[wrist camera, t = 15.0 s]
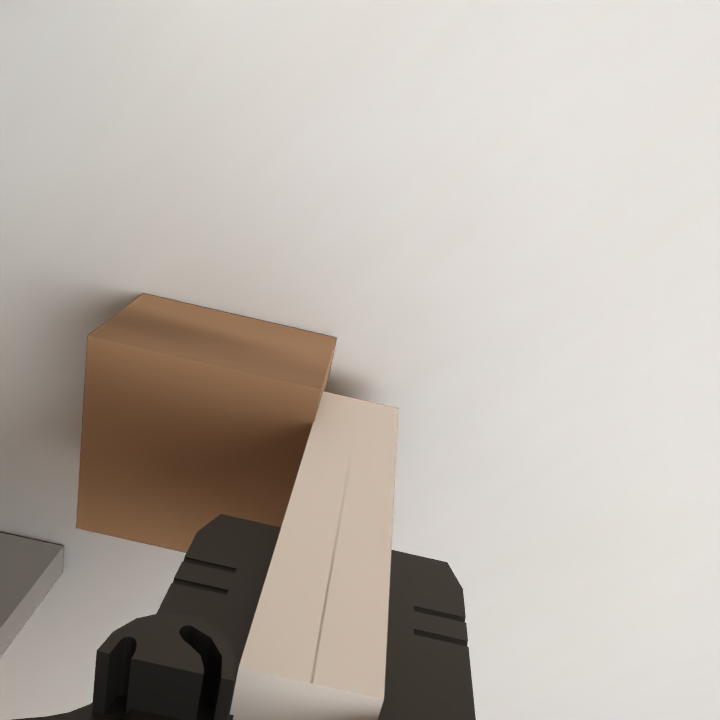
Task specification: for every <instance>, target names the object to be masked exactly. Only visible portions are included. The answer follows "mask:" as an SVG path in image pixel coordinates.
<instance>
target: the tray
mask: <svg viewBox="0 0 720 720" xmlns="http://www.w3.org/2000/svg"><path fill="white" fill-rule="evenodd" d="M63 551H64V546H61V545H56V544H52V543H47V542H42V541H38V540H33V539H28V538H24V537H19V536H14V535H10V534H5V533H0V657H1V656H2V655H3V653H4V652H5V651H6V649H7V648H8V646H9V645H10V644H11V642H12V641H13V640H14V638H15V637H16V635H17V634H18V633H19V631H20V630H21V629H22V627H23V626H24V624H25V623H26V622H27V620H28V619H29V618H30V616H31V615H32V613H33V612H34V611H35V609H36V608H37V607H38V605H39V604H40V603H41V601H42V600H43V598H44V597H45V596H46V594H47V593H48V592H49V590H50V589H51V587H52V586H53V585H54V583H55V582H56V581H57V579H58V578H59V576H60V575H61V574H62V572H63Z"/></svg>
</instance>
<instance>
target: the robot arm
mask: <svg viewBox="0 0 720 720" xmlns="http://www.w3.org/2000/svg"><path fill="white" fill-rule="evenodd" d="M397 425H398V408H395V407H390V406H386V405H382V404H377V403H373V402H368V401H364V400H360V399H355V398H351V397H346V396H342V395H338V394H333V393H329V392H324V391H323V394H322V397H321V401H320V404H319V407H318V411H317V414H316V417H315V421H314V422H313V425H312V428H311V431H310V435H309V438H308V441H307V445H306V448H305V451H304V454H303V458H302V461H301V464H300V468H299V471H298V474H297V477H296V481H295V484H294V487H293V491H292V494H291V497H290V500H289V504H288V507H287V510H286V514H285V517H284V520H283V523H282V527H277V526H273V525H268V524H264V523H259V522H255V521H250V520H246V519H241V518H237V517H232V516H228V515H224V514H220V515H219V516H217V517H216V518H215V519H213V520H212V521H211V522H209V523H208V524H207V525H205V526H204V527H203V528H201V529H200V530H199V531H197V533H196V535H195V537H194V539H193V541H192V543H191V545H190V547H189V549H188V551H187V553H186V555H185V558H184V561H183V562H182V563H181V565H180V567H179V569H178V571H177V573H176V575H175V577H174V581H173V583H172V584H171V586H170V588H169V590H168V592H167V594H166V596H165V598H164V600H163V602H162V604H161V606H160V608H159V610H158V612H157V614H155V615H150V616H146V617H141V618H137V619H135V620H133V621H131V622H129V623H128V624H126V625H124V626H122V627H121V628H119V629H117V630H115V631H114V632H113V633H112V634H111V635H110V636H109V637H108V638H107V640H106V641H105V642H104V643H103V644H102V645H101V646H100V648H99V649H98V650H97V655H96V668H95V681H94V693H93V703H91V704H90V705H87V706H84V707H82V708H79V709H77V710H74V711H71V712H69V713H64V714H58V715H53V716H47V717H37V718H25V719H14V720H476V719H475V709H474V699H473V689H472V678H471V668H470V658H469V648H468V647H467V642H468V638H467V627H466V623H465V607H464V597H463V589H462V587H461V585H460V584H459V582H458V580H457V578H456V577H455V575H454V573H453V572H452V570H451V568H450V566H449V565H448V563H447V562H443V561H439V560H434V559H430V558H425V557H421V556H416V555H412V554H407V553H403V552H399V551H394V550H391V547H392V527H393V507H394V486H395V466H396V446H397Z"/></svg>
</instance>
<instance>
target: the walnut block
mask: <svg viewBox="0 0 720 720" xmlns="http://www.w3.org/2000/svg"><path fill="white" fill-rule="evenodd" d="M336 340H337V338H335V337H331V336H327V335H322V334H318V333H314V332H309V331H305V330H301V329H296V328H292V327H288V326H283V325H279V324H275V323H270V322H266V321H261V320H257V319H253V318H248V317H244V316H240V315H235V314H231V313H227V312H222V311H218V310H214V309H209V308H205V307H201V306H196V305H192V304H188V303H183V302H179V301H174V300H170V299H166V298H161V297H157V296H153V295H148V294H142V295H141V296H140V297H138V298H137V299H136V300H134V301H133V302H132V303H130V304H129V305H128V306H126V307H125V308H124V309H122V310H121V311H120V312H118V313H117V314H116V315H114V316H113V317H112V318H110V319H109V320H108V321H106V322H105V323H104V324H102V325H101V326H100V327H98V328H97V329H96V330H94V331H93V332H92V333H90V334H89V335H88V336H87V352H86V369H85V386H84V403H83V420H82V437H81V454H80V471H79V488H78V505H77V522H76V528H79V529H83V530H87V531H92V532H96V533H101V534H105V535H110V536H114V537H118V538H123V539H127V540H132V541H136V542H141V543H145V544H150V545H154V546H158V547H163V548H167V549H172V550H176V551H181V552H185V553H187V551H188V549H189V547H190V545H191V543H192V541H193V539H194V537H195V535H196V533H197V531H199V530H200V529H201V528H203V527H204V526H205V525H207V524H208V523H209V522H211V521H212V520H213V519H215V518H216V517H217V516H219V515H220V514H224V515H228V516H232V517H237V518H241V519H246V520H250V521H255V522H259V523H264V524H268V525H273V526H277V527H282V523H283V520H284V517H285V514H286V510H287V507H288V504H289V500H290V497H291V494H292V491H293V487H294V484H295V481H296V477H297V474H298V471H299V468H300V464H301V461H302V458H303V454H304V451H305V448H306V445H307V441H308V438H309V435H310V431H311V428H312V425H313V422H314V421H315V417H316V414H317V411H318V407H319V404H320V401H321V397H322V394H323V391H324V392H325V391H326V386H327V382H328V377H329V372H330V368H331V363H332V359H333V354H334V349H335V345H336Z"/></svg>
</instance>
